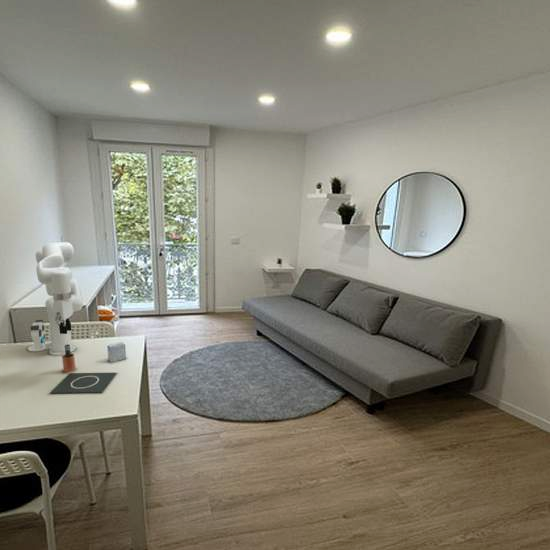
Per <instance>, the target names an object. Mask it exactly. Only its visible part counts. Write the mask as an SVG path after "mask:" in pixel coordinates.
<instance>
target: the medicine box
mask: <svg viewBox="0 0 550 550" xmlns="http://www.w3.org/2000/svg"><path fill="white" fill-rule="evenodd" d="M106 347H107V359H108V361H109V362H110V363H114V362H119V361H122V360H125V359H127V351H126V343H125V342H123V341H120V342H115V343H111V344H108V345H107V346H106Z"/></svg>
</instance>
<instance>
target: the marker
mask: <svg viewBox="0 0 550 550" xmlns="http://www.w3.org/2000/svg"><path fill="white" fill-rule="evenodd" d="M71 354H72V352H71V353H70V345H69V344H68V345H65V354H64V355H66V358H68V357H71Z"/></svg>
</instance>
